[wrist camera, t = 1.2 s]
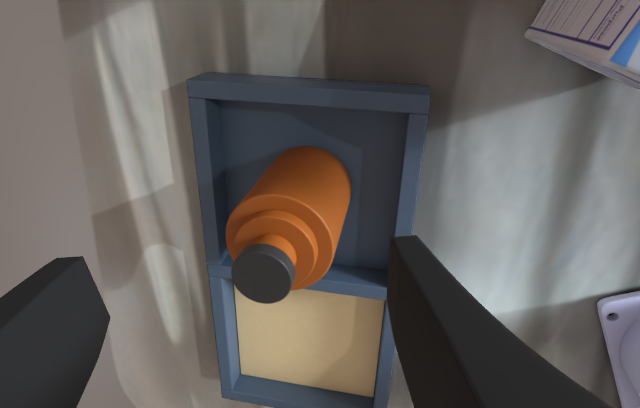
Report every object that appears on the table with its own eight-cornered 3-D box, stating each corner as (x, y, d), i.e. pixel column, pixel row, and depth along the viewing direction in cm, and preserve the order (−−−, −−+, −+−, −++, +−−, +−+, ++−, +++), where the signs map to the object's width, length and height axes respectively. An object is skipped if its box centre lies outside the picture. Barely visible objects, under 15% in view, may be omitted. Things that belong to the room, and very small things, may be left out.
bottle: (365, 210, 22) (343, 314, 15) (290, 233, 23) (238, 338, 16) (330, 132, 20) (288, 205, 13) (253, 162, 22) (177, 243, 15)
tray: (385, 400, 28) (384, 428, 26) (233, 372, 30) (221, 398, 28) (429, 85, 19) (431, 95, 17) (206, 71, 21) (185, 79, 19)
